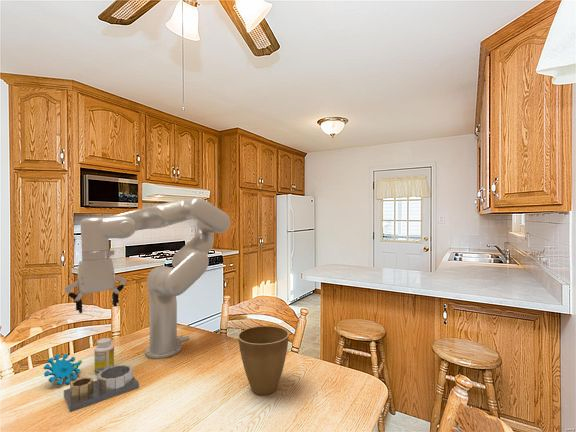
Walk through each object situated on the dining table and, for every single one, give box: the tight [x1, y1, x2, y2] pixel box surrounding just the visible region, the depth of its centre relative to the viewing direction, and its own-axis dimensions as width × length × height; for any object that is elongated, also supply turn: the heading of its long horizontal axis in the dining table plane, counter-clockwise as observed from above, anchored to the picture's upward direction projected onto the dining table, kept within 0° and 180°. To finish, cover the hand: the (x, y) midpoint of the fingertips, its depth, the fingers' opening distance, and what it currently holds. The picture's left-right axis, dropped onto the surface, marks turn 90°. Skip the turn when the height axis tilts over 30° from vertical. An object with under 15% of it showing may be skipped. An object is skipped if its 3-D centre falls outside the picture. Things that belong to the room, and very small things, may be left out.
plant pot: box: [237, 325, 290, 396], centre depth 94 cm, size 15×15×16 cm
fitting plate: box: [63, 364, 140, 413], centre depth 92 cm, size 17×10×4 cm, turn 132°
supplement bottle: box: [93, 337, 115, 375], centre depth 104 cm, size 6×6×10 cm
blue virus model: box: [43, 353, 83, 386], centre depth 99 cm, size 11×6×10 cm
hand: (98, 308), depth 103 cm, fingers open, 9 cm apart
